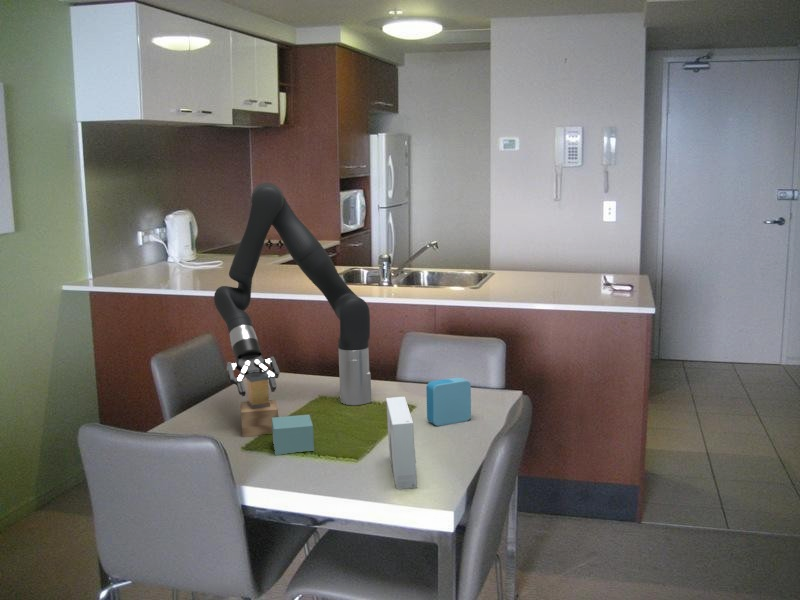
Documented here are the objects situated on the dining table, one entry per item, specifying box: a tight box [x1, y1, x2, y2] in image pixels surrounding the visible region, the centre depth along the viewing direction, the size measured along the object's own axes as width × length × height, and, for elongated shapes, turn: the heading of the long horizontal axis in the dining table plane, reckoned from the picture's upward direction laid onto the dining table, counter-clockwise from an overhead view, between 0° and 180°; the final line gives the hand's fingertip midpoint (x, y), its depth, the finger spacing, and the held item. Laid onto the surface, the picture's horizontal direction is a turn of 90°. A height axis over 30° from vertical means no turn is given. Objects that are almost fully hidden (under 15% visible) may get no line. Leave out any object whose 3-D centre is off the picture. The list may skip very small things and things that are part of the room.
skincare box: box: [385, 396, 418, 490], centre depth 204 cm, size 21×6×16 cm, turn 5°
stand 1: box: [240, 399, 279, 438], centre depth 239 cm, size 10×10×7 cm
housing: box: [245, 371, 270, 409], centre depth 238 cm, size 5×5×9 cm
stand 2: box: [272, 414, 315, 456], centre depth 224 cm, size 10×10×7 cm
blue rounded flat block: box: [425, 376, 472, 427], centre depth 242 cm, size 12×4×12 cm, turn 115°
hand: (259, 392), depth 237 cm, fingers open, 8 cm apart
